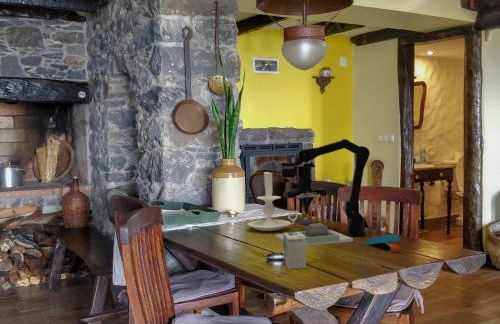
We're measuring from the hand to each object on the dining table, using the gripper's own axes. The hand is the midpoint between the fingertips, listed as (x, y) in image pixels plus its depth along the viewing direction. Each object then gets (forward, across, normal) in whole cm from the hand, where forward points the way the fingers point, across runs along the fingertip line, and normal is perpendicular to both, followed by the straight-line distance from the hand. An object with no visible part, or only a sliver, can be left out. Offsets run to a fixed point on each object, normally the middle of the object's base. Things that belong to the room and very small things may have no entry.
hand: (305, 212), depth 244 cm
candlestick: (+11, +8, -21) cm, 25 cm away
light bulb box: (+11, +23, +44) cm, 51 cm away
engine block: (+9, 0, +12) cm, 15 cm away
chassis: (+11, 0, +8) cm, 13 cm away
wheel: (+5, 0, 0) cm, 5 cm away
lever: (+11, -19, +34) cm, 41 cm away
